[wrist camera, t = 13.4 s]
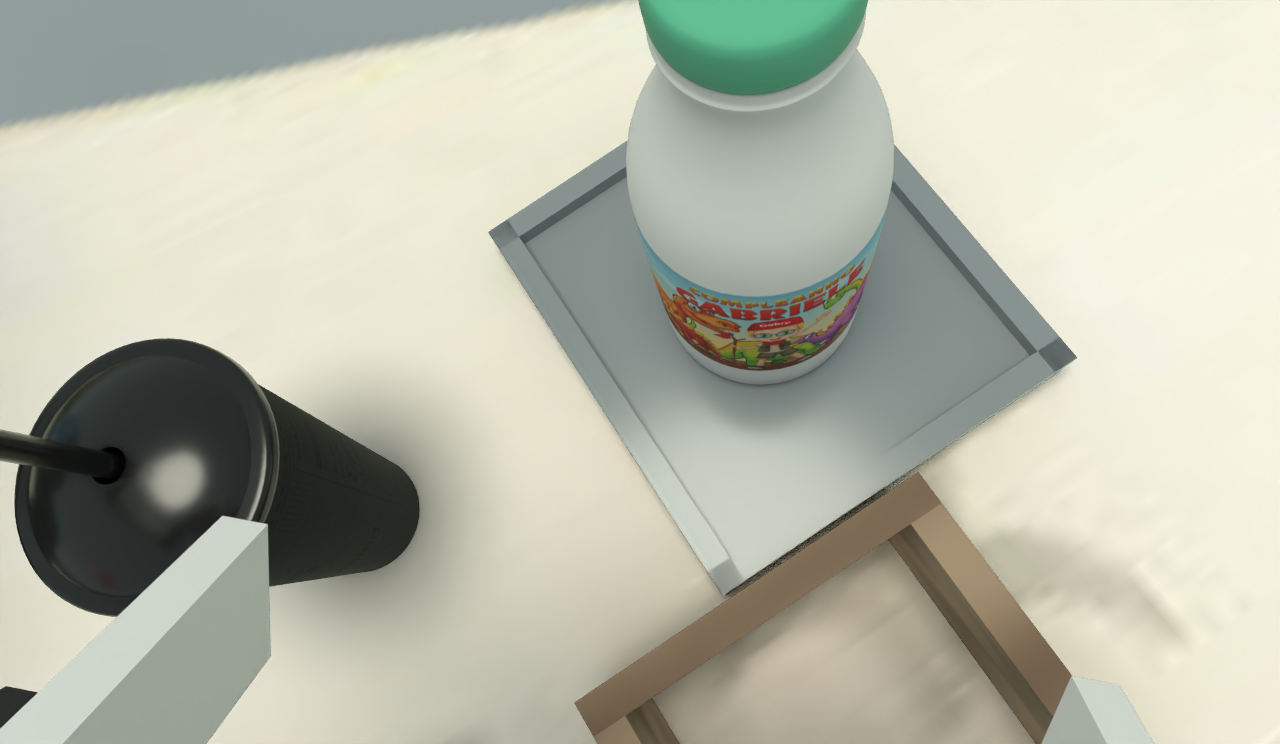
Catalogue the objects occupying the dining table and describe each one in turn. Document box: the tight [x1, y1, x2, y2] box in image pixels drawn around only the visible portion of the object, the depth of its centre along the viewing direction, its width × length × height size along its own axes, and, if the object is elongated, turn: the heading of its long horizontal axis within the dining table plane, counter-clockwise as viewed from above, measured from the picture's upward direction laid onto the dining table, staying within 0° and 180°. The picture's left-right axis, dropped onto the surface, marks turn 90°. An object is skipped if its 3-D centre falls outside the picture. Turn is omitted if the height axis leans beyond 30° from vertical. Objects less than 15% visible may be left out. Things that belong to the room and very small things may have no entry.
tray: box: [488, 141, 1077, 595], centre depth 35 cm, size 18×16×2 cm
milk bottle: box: [626, 0, 894, 385], centre depth 26 cm, size 8×8×20 cm
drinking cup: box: [0, 338, 419, 617], centre depth 27 cm, size 8×8×20 cm
